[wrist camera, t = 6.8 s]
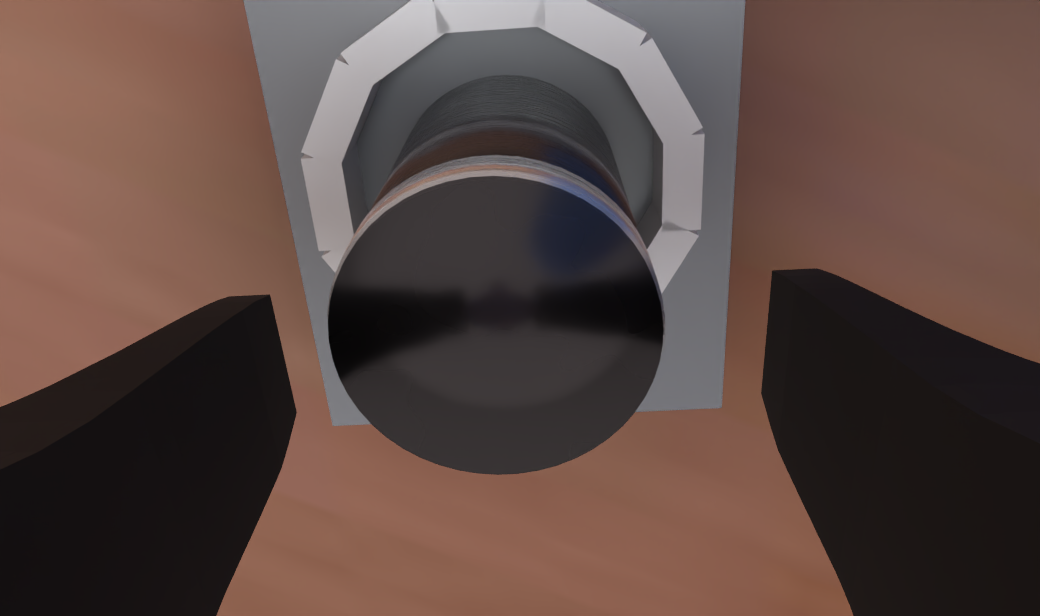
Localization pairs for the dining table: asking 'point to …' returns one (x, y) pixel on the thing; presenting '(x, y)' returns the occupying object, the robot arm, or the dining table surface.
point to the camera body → (537, 54)
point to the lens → (499, 286)
